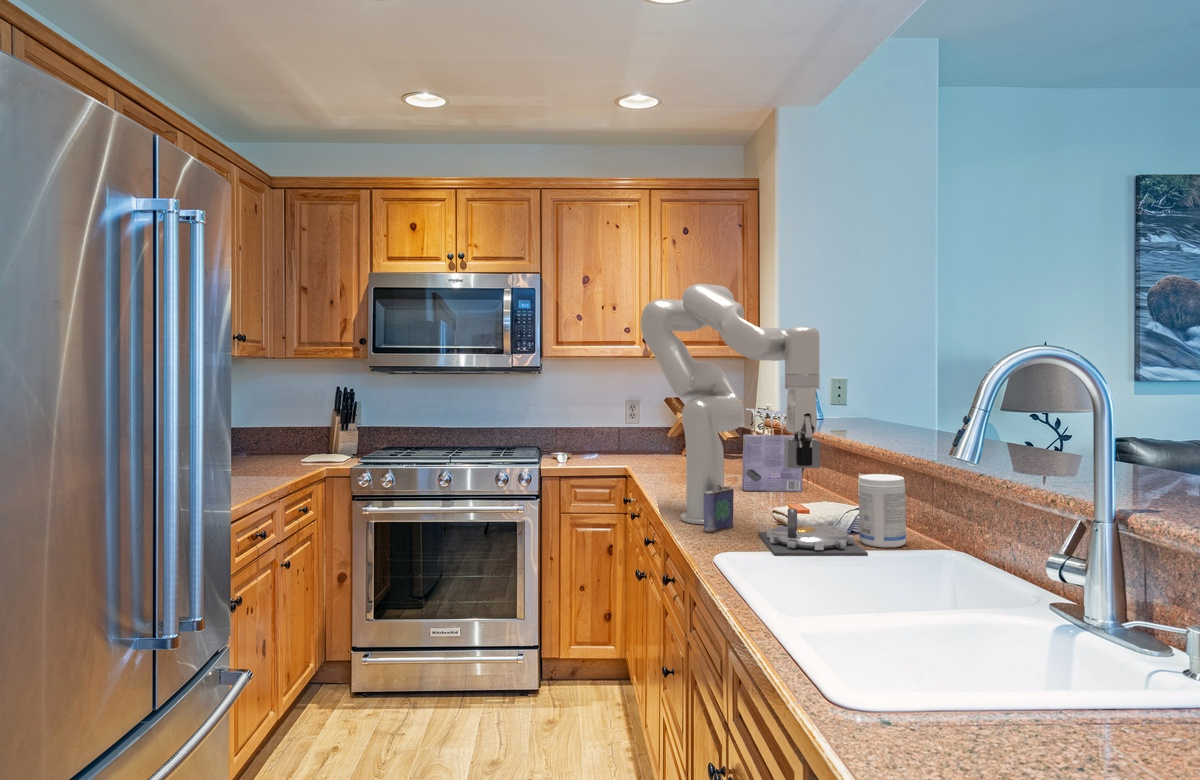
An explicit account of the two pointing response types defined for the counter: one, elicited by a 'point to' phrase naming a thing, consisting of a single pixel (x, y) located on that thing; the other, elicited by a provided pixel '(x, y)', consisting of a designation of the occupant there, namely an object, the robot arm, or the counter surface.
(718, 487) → the flask
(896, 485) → the supplement tub
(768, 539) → the base mat
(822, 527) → the sprocket
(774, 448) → the purple product box
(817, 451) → the grey rectangular block
